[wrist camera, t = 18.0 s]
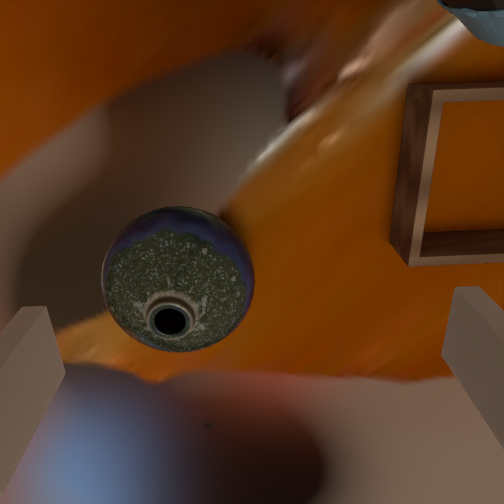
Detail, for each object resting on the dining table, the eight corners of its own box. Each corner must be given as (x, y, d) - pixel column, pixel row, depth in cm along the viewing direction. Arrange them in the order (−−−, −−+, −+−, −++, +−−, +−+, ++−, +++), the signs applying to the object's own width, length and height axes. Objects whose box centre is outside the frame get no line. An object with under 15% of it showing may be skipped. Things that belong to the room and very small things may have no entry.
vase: (176, 331, 54) (159, 413, 42) (89, 240, 48) (40, 305, 36) (278, 268, 50) (291, 338, 38) (197, 162, 44) (183, 205, 32)
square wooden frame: (408, 84, 42) (433, 90, 36) (579, 77, 42) (629, 82, 37) (389, 242, 49) (408, 266, 44) (535, 235, 49) (571, 259, 44)
